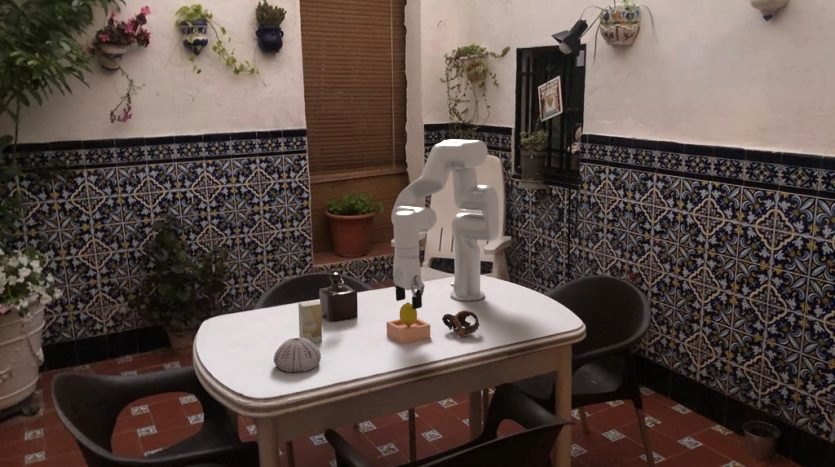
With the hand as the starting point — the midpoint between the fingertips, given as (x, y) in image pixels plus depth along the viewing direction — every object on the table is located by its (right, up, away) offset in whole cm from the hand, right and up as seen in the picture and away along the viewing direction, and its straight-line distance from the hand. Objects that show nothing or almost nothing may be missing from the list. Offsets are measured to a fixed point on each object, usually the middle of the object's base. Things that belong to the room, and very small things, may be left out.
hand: (408, 303), depth 213 cm
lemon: (0, -7, +1) cm, 8 cm away
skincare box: (-30, -12, -1) cm, 33 cm away
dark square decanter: (-24, -7, +20) cm, 31 cm away
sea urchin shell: (-31, -16, -20) cm, 40 cm away
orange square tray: (0, -10, +2) cm, 10 cm away
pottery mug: (+17, -10, +4) cm, 20 cm away
